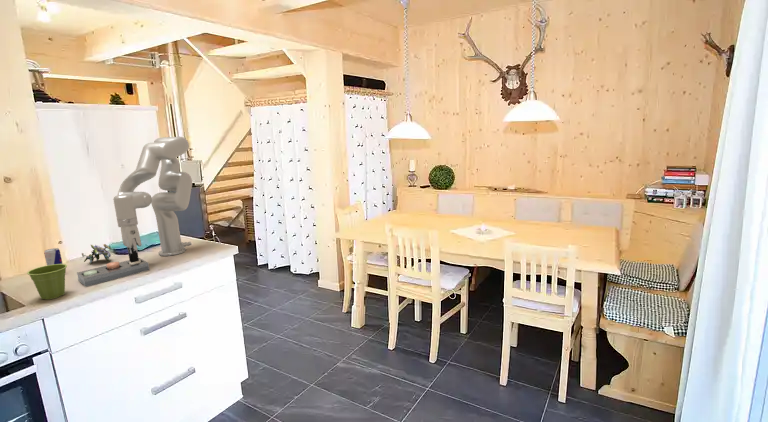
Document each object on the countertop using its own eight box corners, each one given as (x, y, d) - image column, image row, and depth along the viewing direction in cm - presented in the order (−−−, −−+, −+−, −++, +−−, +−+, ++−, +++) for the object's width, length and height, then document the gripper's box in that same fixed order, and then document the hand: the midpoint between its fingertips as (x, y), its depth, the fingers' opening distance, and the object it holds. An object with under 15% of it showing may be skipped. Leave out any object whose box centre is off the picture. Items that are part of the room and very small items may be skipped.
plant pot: (40, 305, 146) (34, 276, 144) (28, 299, 152) (22, 271, 150) (78, 293, 156) (72, 266, 154) (65, 288, 162) (59, 262, 160)
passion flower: (110, 271, 197) (116, 254, 192) (83, 274, 189) (89, 256, 184) (104, 255, 203) (110, 238, 198) (78, 257, 194) (83, 239, 189)
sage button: (96, 273, 172) (95, 269, 171) (98, 276, 169) (98, 271, 168) (83, 277, 168) (82, 272, 168) (85, 279, 165) (85, 274, 165)
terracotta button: (118, 265, 178) (117, 260, 177) (121, 267, 175) (120, 262, 174) (106, 268, 174) (105, 263, 174) (109, 270, 171) (108, 265, 171)
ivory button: (139, 263, 184) (138, 258, 184) (143, 264, 181) (142, 260, 181) (128, 265, 181) (127, 261, 180) (131, 267, 178) (130, 263, 177)
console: (140, 264, 188) (139, 257, 187) (149, 270, 180) (148, 262, 179) (78, 280, 170) (76, 272, 170) (85, 286, 163) (83, 278, 162)
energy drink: (67, 273, 180) (62, 248, 177) (54, 278, 175) (48, 252, 173) (59, 272, 182) (54, 247, 179) (46, 277, 177) (40, 251, 174)
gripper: (142, 222, 174) (149, 262, 178) (131, 218, 184) (138, 256, 188) (123, 226, 169) (130, 266, 173) (112, 221, 179) (119, 260, 182)
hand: (134, 261), depth 180 cm, fingers closed
